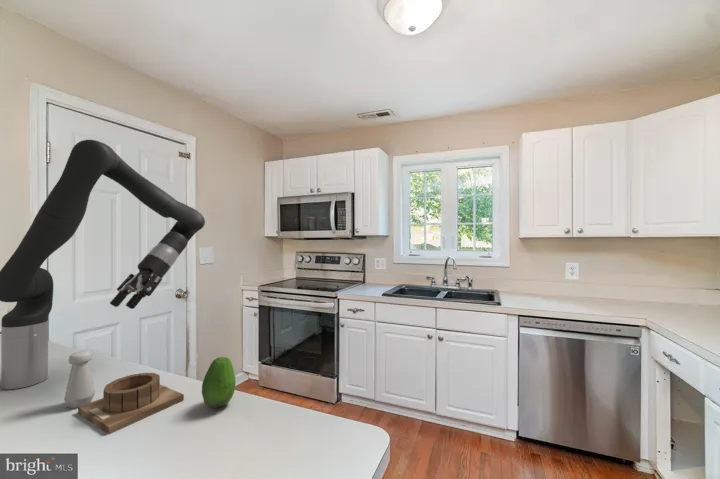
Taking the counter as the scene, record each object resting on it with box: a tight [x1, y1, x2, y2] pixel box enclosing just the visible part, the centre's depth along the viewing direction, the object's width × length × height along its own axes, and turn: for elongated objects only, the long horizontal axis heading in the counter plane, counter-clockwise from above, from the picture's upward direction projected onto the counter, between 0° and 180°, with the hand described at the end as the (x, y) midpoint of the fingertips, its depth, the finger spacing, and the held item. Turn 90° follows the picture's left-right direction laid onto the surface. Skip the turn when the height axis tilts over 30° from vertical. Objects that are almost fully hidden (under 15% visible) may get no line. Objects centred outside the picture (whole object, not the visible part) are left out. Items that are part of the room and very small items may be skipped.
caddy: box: [77, 372, 185, 435], centre depth 76 cm, size 16×16×6 cm
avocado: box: [201, 356, 237, 409], centre depth 77 cm, size 8×8×12 cm
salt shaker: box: [64, 350, 96, 409], centre depth 78 cm, size 6×6×13 cm
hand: (121, 306), depth 87 cm, fingers open, 8 cm apart
